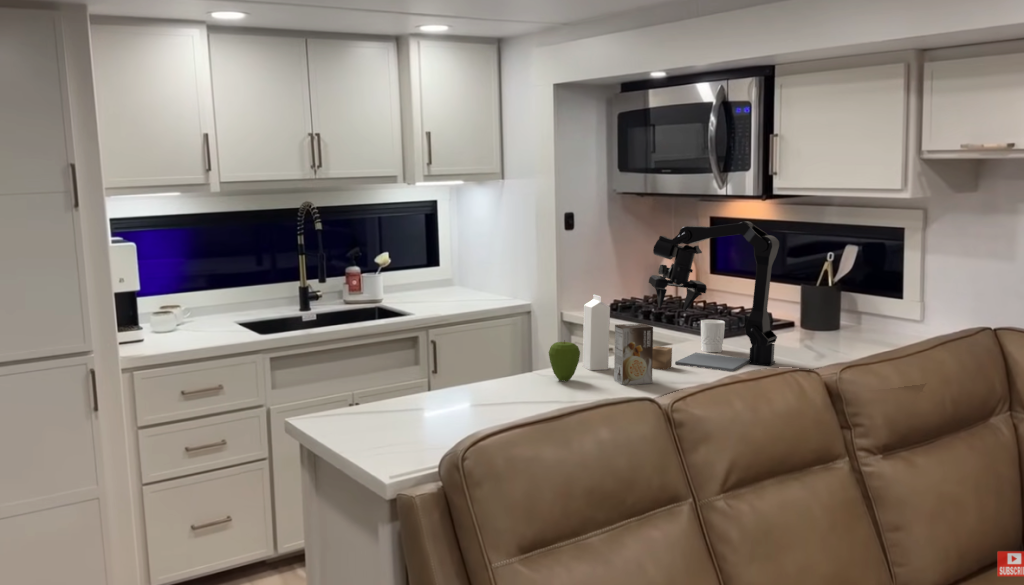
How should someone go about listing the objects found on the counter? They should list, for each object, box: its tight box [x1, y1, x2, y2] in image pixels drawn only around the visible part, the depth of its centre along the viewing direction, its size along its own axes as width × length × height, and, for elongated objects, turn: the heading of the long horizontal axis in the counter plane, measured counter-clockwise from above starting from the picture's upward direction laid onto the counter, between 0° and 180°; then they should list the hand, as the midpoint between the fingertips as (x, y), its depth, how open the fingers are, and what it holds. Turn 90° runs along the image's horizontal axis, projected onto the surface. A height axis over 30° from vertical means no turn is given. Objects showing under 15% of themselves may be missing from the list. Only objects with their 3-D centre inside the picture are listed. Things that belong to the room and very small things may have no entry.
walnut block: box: [652, 345, 673, 371], centre depth 264 cm, size 5×5×6 cm
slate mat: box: [675, 352, 750, 372], centre depth 272 cm, size 18×18×1 cm
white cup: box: [700, 319, 726, 353], centre depth 291 cm, size 8×8×10 cm
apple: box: [548, 339, 581, 382], centre depth 245 cm, size 9×8×12 cm
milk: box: [582, 294, 611, 371], centre depth 261 cm, size 6×6×22 cm
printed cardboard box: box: [613, 323, 654, 386], centre depth 244 cm, size 9×6×16 cm
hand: (671, 308), depth 288 cm, fingers open, 9 cm apart
